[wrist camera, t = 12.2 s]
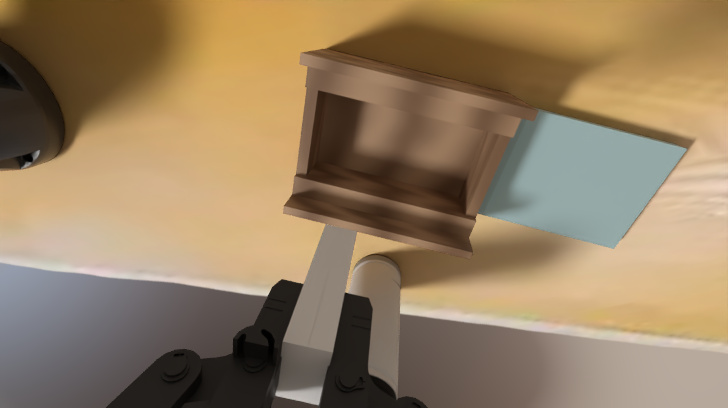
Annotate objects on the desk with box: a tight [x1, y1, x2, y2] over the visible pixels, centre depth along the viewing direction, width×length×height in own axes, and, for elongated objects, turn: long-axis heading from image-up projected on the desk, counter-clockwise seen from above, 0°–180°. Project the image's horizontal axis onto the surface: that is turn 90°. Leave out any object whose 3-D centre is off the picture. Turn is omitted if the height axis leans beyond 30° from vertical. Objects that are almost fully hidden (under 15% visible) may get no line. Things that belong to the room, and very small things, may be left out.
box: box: [283, 49, 539, 259], centre depth 31 cm, size 18×14×8 cm
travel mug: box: [349, 255, 401, 400], centre depth 35 cm, size 6×7×20 cm
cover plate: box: [478, 107, 687, 249], centre depth 34 cm, size 17×12×4 cm
